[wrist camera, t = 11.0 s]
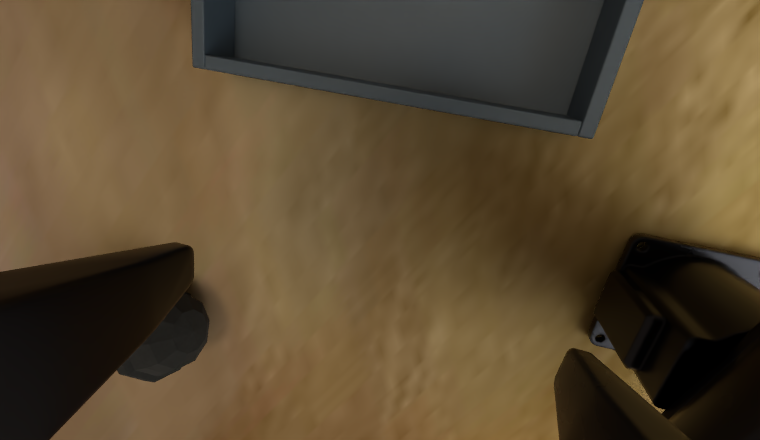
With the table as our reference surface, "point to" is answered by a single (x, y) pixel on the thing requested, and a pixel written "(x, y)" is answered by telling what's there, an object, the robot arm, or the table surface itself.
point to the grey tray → (431, 53)
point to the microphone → (170, 342)
